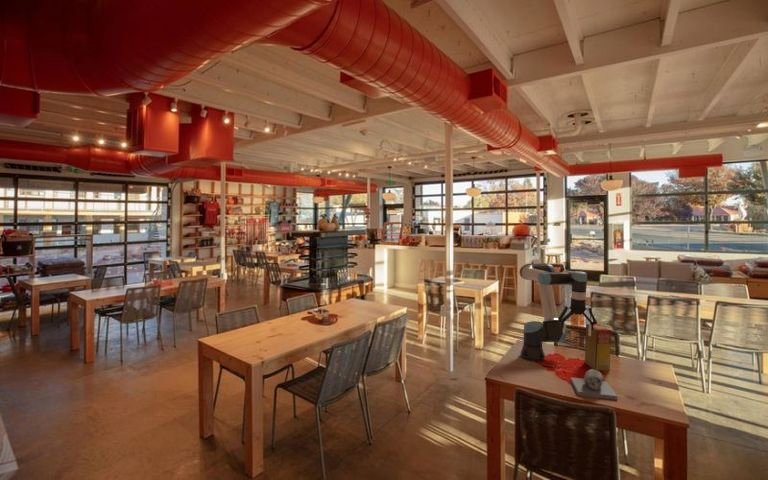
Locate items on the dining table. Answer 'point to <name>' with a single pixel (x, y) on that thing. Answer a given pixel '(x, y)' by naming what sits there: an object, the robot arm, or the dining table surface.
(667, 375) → the dining table surface
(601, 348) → the food packaging
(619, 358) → the dining table surface
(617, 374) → the dining table surface
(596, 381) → the spool
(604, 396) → the plate
